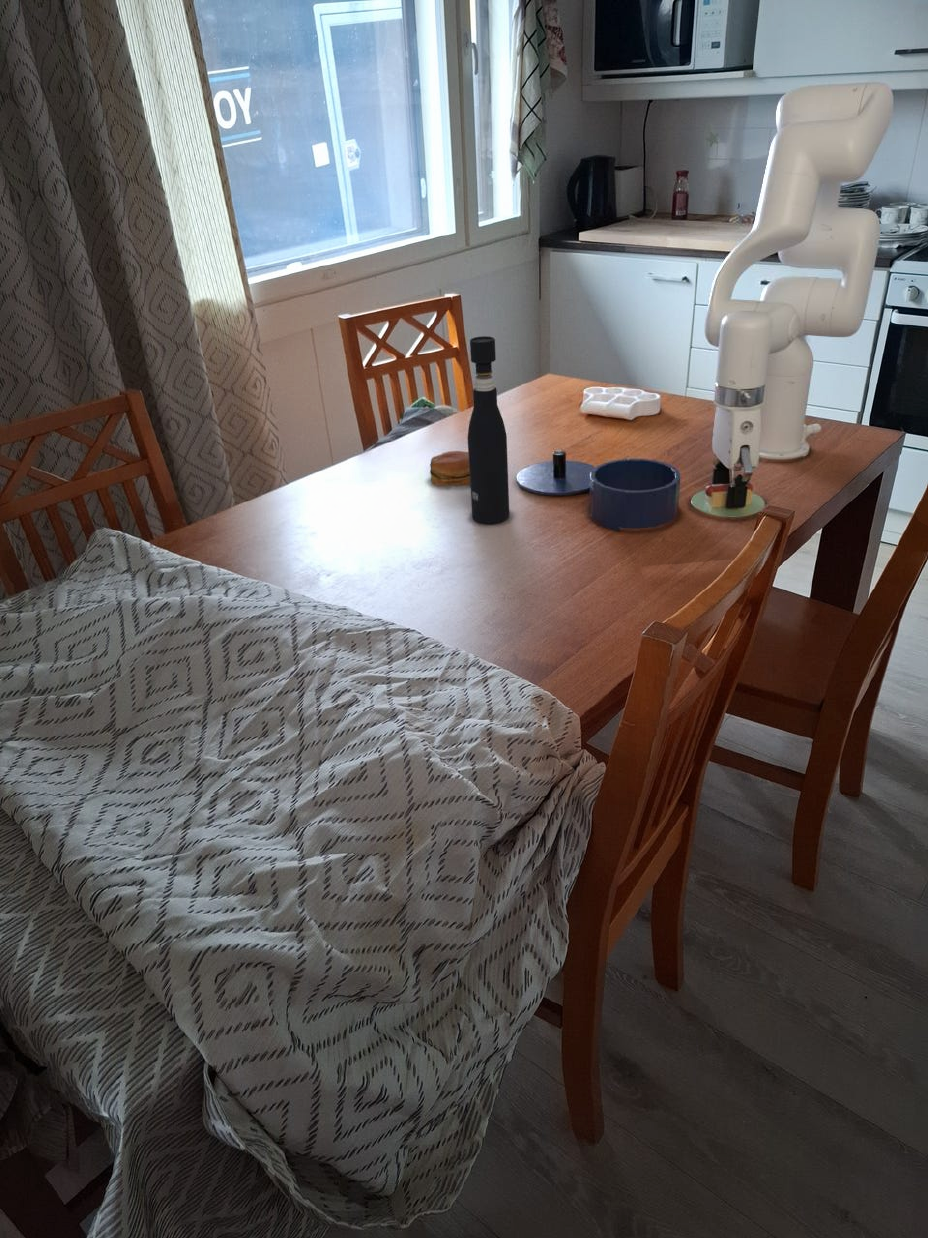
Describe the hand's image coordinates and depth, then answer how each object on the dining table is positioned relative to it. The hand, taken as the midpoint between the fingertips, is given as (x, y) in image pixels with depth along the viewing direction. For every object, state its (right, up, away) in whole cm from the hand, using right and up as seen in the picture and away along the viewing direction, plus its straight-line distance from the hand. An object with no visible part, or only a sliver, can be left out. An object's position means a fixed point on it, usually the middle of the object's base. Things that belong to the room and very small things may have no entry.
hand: (728, 497), depth 145 cm
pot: (-16, -3, 0) cm, 16 cm away
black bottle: (-40, -3, +3) cm, 40 cm away
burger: (-46, +6, +18) cm, 50 cm away
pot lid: (-27, +6, +14) cm, 31 cm away
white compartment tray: (-10, +26, +47) cm, 55 cm away
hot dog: (0, -1, 0) cm, 1 cm away
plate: (0, -1, +1) cm, 1 cm away
